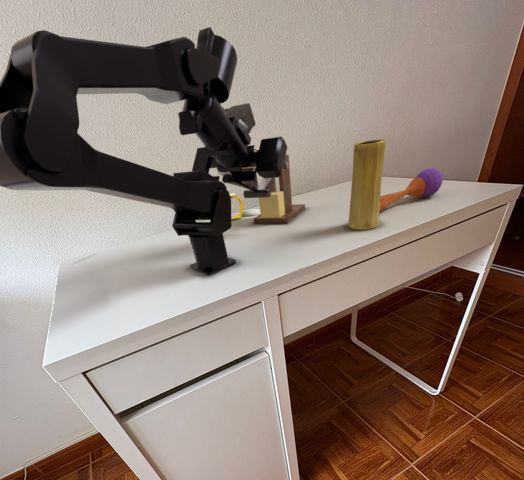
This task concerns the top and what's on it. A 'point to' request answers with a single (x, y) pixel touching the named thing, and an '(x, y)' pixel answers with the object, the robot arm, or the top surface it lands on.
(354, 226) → the vase
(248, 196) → the angled grey lever
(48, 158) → the robot arm
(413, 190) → the maraca
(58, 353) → the top surface
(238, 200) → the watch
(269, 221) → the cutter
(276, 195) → the butter
